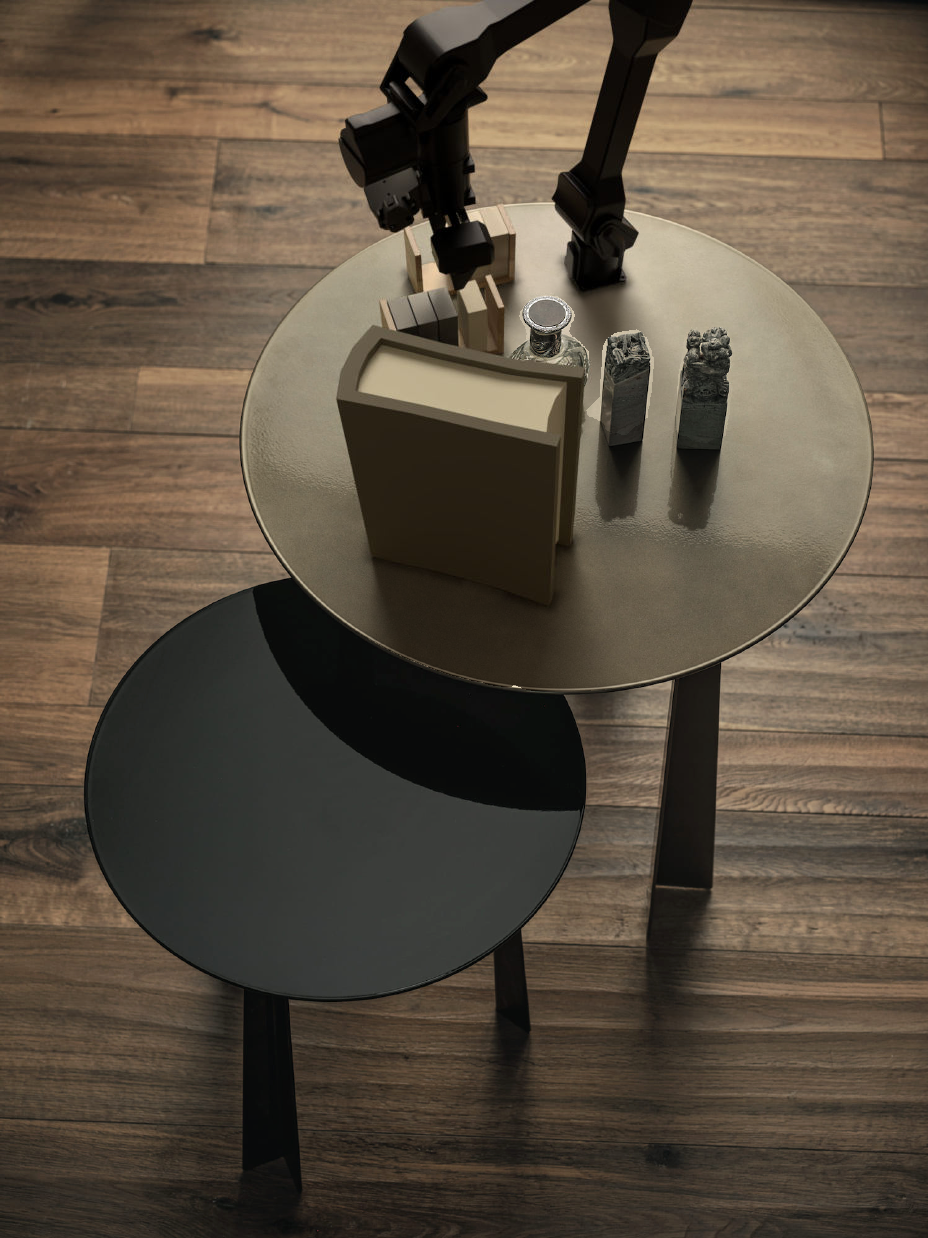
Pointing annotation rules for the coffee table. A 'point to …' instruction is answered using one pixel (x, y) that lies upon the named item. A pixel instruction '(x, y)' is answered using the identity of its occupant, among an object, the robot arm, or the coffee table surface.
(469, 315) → the cream book
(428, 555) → the book
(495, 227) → the brown rack
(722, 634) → the coffee table surface
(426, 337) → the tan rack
